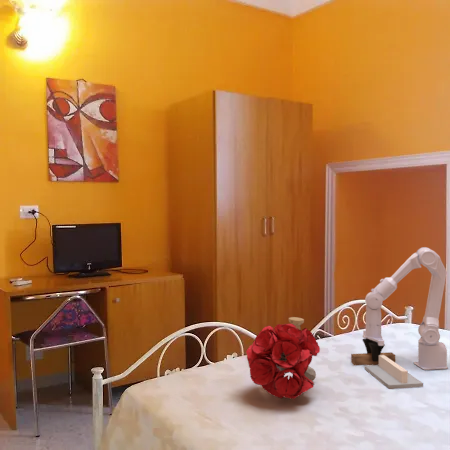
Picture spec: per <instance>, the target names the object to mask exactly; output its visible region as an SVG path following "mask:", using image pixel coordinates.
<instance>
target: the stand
mask: <svg viewBox="0 0 450 450" xmlns="http://www.w3.org/2000/svg"><path fill="white" fill-rule="evenodd" d="M364 370H365V371H366V372H368V373H369V374H370V375H372V377H374V378H375V379H376V380H377V381H378V382H380V383H381V384H382V385H383V386H385V387H386V388H387V389H389V390H392V389H393V390H394V389H408V388H410V389H411V388H424V382H422V381H421V380H419V379H418V378H416V377H415V376H414V375H412V374H410V373H409V372H408V370H406V369H405V368H404V367H402V366H401V365H400V364H398V363H396V361H395V362H393V361H392V360H391V359H389V358H388V357H386V356H385V355H379V364H378V365H364Z"/></svg>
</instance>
